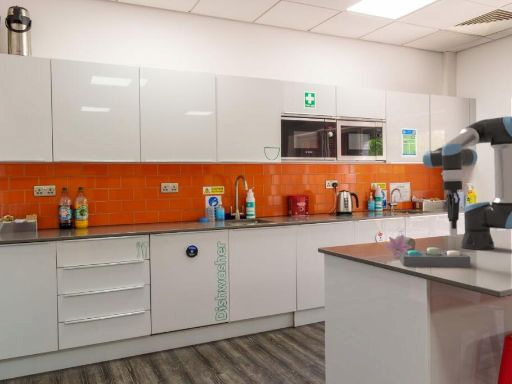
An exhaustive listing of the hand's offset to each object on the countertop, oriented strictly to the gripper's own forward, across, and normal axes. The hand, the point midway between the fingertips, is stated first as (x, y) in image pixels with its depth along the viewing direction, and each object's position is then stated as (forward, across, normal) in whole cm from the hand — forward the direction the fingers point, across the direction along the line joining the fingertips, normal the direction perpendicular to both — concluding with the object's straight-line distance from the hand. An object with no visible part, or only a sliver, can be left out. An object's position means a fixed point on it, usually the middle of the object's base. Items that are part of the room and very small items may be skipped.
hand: (453, 236), depth 184 cm
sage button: (+9, 0, -8) cm, 12 cm away
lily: (+12, -15, -21) cm, 28 cm away
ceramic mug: (+12, -32, -15) cm, 38 cm away
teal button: (+10, 0, -16) cm, 19 cm away
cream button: (+11, 0, 0) cm, 11 cm away
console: (+12, 0, -8) cm, 14 cm away
